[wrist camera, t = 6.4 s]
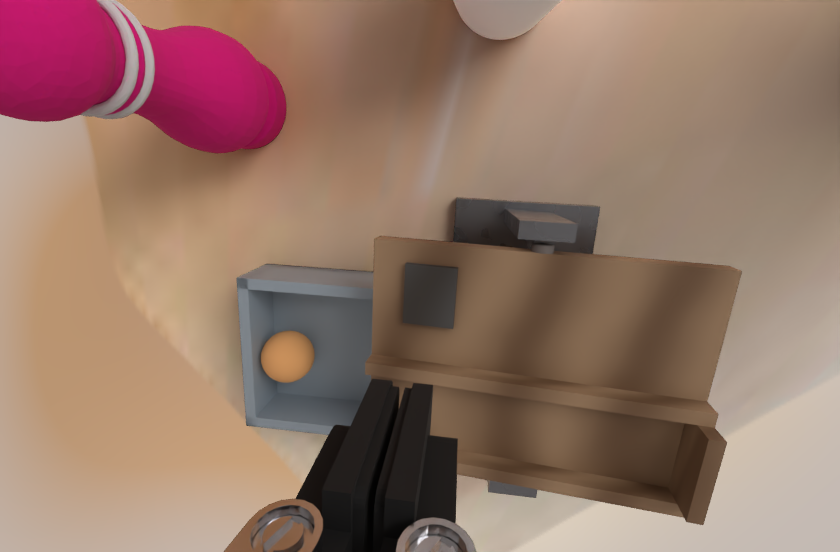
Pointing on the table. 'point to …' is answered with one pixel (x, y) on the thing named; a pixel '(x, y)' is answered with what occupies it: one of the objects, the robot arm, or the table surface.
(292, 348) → the ball
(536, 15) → the cup
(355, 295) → the bin
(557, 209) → the stand
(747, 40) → the table surface
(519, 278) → the tray
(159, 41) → the pepper mill
